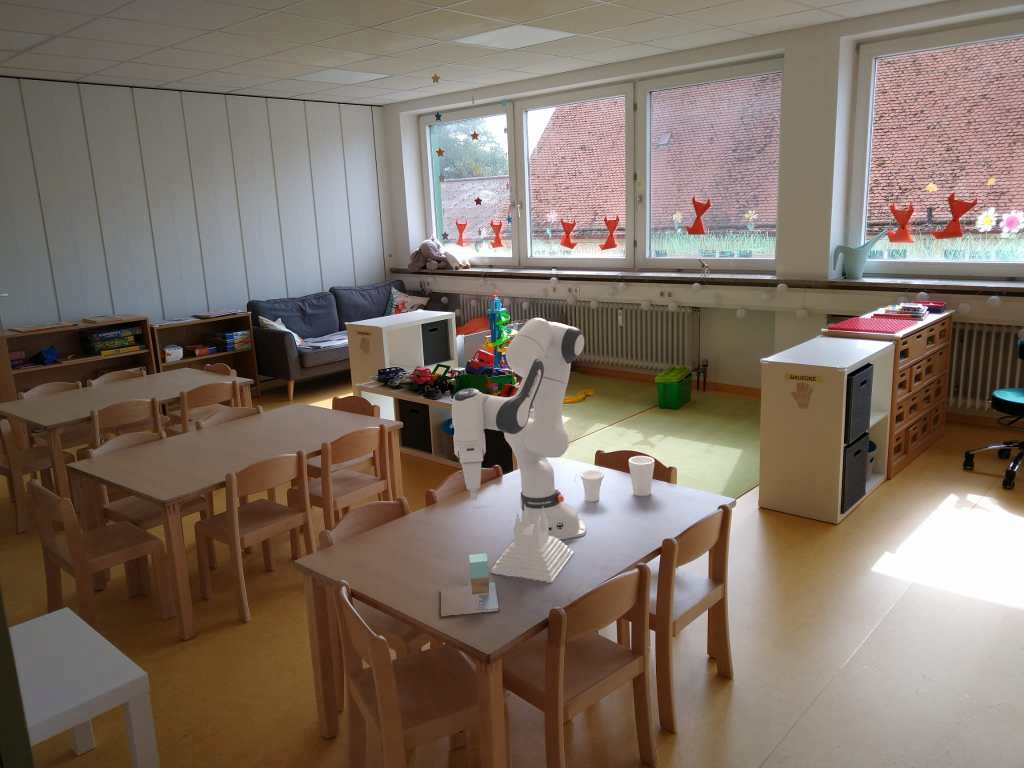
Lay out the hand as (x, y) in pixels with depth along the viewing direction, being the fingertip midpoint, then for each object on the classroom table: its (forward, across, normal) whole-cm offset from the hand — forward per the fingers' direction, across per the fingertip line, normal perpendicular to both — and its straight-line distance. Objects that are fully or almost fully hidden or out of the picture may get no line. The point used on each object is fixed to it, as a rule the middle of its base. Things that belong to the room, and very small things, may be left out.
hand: (473, 493), depth 220 cm
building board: (+29, +8, -3) cm, 30 cm away
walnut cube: (+28, +4, 0) cm, 28 cm away
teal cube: (+23, +4, 0) cm, 23 cm away
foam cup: (+29, -60, +64) cm, 93 cm away
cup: (+29, -58, +46) cm, 79 cm away
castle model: (+30, -11, +17) cm, 36 cm away
